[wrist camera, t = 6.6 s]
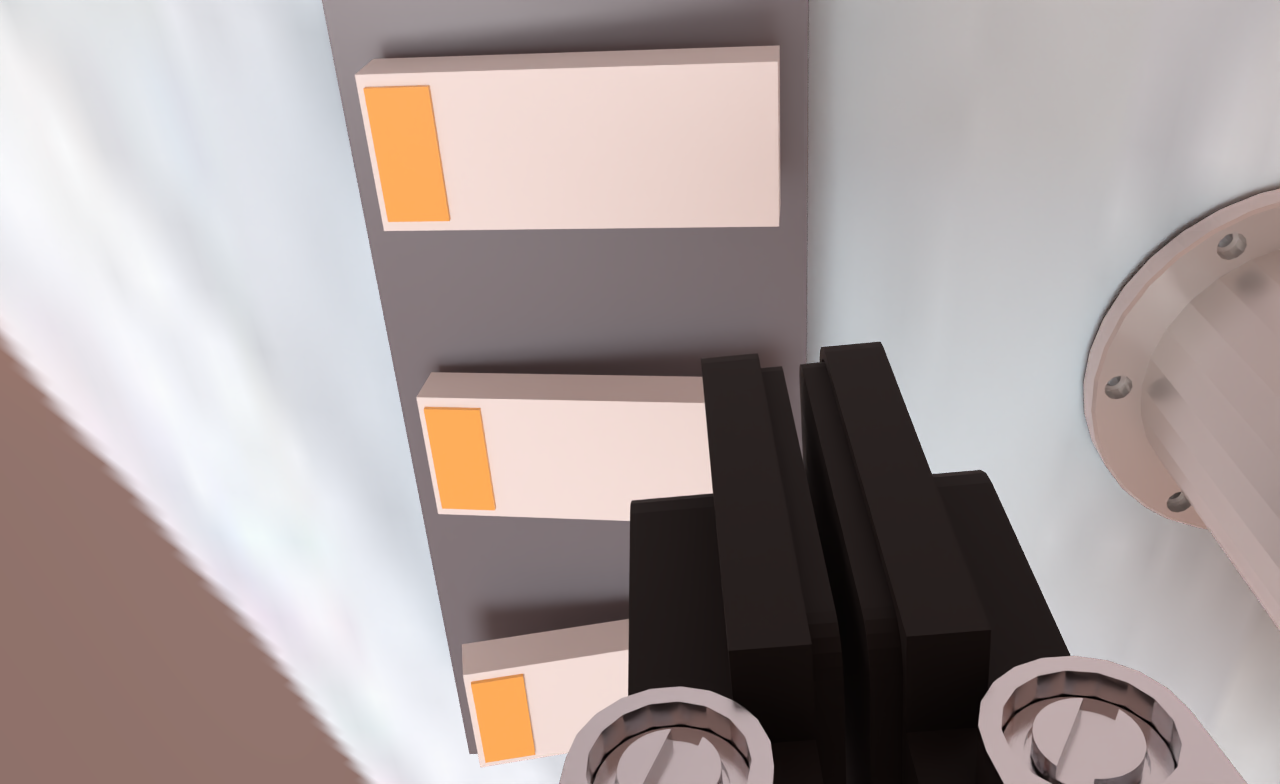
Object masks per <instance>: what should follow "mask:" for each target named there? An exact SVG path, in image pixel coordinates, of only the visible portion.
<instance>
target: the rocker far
mask: <svg viewBox="0 0 1280 784" xmlns="http://www.w3.org/2000/svg"><path fill="white" fill-rule="evenodd" d="M628 649H629V619H624V620H618V621H611V622H605V623H598V624H592V625H585V626H579V627H572V628H566V629H559V630H553V631H546V632H540V633H533V634H527V635H520V636H514V637H507V638H500V639H494V640H487V641H481V642H474V643H468V644H462V664H463V679H464V684H465V689H466V695H467V700H468V705H469V710H470V715H471V721H472V726H473V731H474V736H475V742H476V747H477V752H478V757H479V763H480V767H486V766H492V765H498V764H504V763H510V762H516V761H523V760H529V759H535V758H541V757H547V756H553V755H559V754H565V753H568V752H569V750H570V748H571V746H572V743H573V741H574V739H575V737H576V735H577V733H578V732H579V731H580V730H581V729H582V728H583V727H584V726H585V725H586V724H587V723H588V722H589V721H590V719H591V718H592V717H593V716H594V715H595V714H596V713H598V712H600V711H601V710H603V709H604V708H606V707H608V706H609V705H611V704H613V703H614V702H616V701H618V700H619V699H621V698H624V697H627V696H628Z"/></svg>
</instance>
